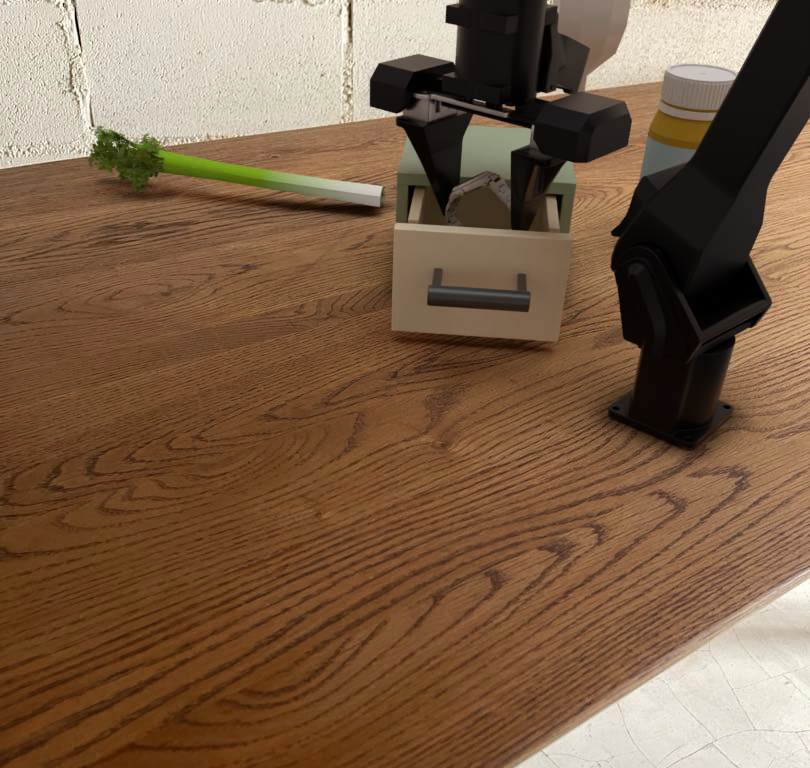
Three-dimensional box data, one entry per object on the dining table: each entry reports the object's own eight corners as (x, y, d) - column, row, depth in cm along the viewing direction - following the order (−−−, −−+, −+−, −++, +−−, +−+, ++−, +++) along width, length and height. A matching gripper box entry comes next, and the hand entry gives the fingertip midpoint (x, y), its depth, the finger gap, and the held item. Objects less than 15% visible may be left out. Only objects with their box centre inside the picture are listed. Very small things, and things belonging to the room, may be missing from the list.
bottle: (704, 264, 84) (749, 85, 75) (627, 256, 85) (660, 78, 76) (701, 236, 89) (742, 65, 80) (628, 228, 90) (660, 59, 81)
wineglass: (521, 135, 113) (544, -70, 100) (582, 128, 116) (611, -71, 103) (560, 156, 107) (589, -58, 94) (622, 149, 110) (659, -60, 97)
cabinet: (559, 303, 77) (576, 183, 71) (393, 292, 78) (396, 172, 71) (552, 239, 88) (567, 130, 81) (407, 230, 88) (410, 121, 82)
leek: (374, 241, 90) (76, 190, 92) (384, 224, 96) (105, 177, 98) (381, 175, 87) (73, 123, 88) (392, 162, 93) (102, 114, 94)
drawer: (561, 373, 66) (577, 267, 61) (385, 361, 66) (387, 254, 61) (551, 273, 79) (564, 179, 74) (405, 264, 80) (408, 170, 75)
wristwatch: (457, 225, 72) (461, 159, 69) (529, 242, 70) (537, 175, 67) (435, 239, 70) (438, 171, 67) (508, 258, 68) (515, 188, 64)
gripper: (694, -6, 60) (647, 232, 70) (466, -42, 69) (453, 173, 79) (604, 16, 53) (565, 276, 63) (364, -27, 62) (364, 206, 72)
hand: (483, 227), depth 69 cm, fingers closed on wristwatch, 6 cm apart
